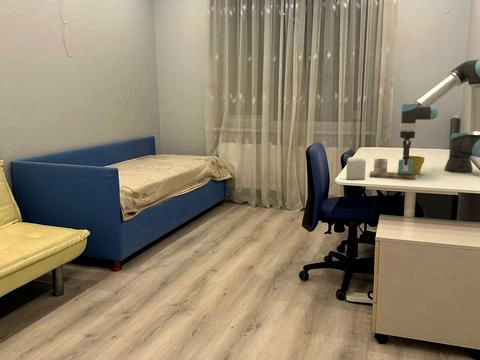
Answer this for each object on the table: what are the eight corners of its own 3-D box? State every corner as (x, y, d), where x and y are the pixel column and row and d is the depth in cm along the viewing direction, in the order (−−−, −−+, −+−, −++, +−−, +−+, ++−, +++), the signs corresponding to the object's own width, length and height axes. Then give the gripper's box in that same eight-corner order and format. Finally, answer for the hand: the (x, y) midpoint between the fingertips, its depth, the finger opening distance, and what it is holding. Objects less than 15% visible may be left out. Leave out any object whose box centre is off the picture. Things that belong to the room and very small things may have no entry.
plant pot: (424, 172, 260) (425, 156, 258) (421, 175, 251) (422, 158, 249) (406, 171, 265) (407, 155, 263) (402, 173, 256) (403, 157, 255)
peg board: (414, 176, 249) (415, 159, 247) (415, 179, 237) (416, 162, 236) (370, 173, 256) (371, 157, 254) (369, 177, 245) (370, 160, 243)
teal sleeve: (397, 173, 249) (398, 159, 248) (411, 174, 247) (412, 160, 245) (397, 175, 242) (398, 161, 241) (411, 176, 240) (412, 161, 239)
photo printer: (347, 180, 237) (348, 157, 235) (345, 178, 241) (346, 156, 239) (366, 179, 238) (367, 157, 236) (363, 178, 242) (364, 156, 240)
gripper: (400, 129, 253) (397, 165, 257) (400, 132, 230) (398, 172, 233) (414, 129, 250) (411, 166, 254) (416, 132, 227) (413, 172, 231)
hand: (404, 169), depth 244 cm, fingers open, 13 cm apart
